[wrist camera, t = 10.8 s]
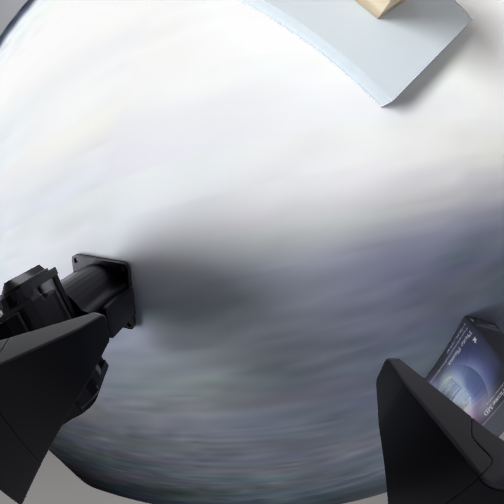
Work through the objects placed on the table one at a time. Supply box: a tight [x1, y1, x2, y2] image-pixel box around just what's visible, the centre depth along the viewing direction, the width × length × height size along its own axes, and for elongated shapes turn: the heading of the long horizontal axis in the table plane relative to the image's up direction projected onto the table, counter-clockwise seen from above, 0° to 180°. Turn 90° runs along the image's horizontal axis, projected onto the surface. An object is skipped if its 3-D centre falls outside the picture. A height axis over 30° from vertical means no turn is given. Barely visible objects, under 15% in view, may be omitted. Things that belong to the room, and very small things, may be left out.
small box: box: [425, 317, 504, 437], centre depth 17 cm, size 11×6×10 cm, turn 165°
